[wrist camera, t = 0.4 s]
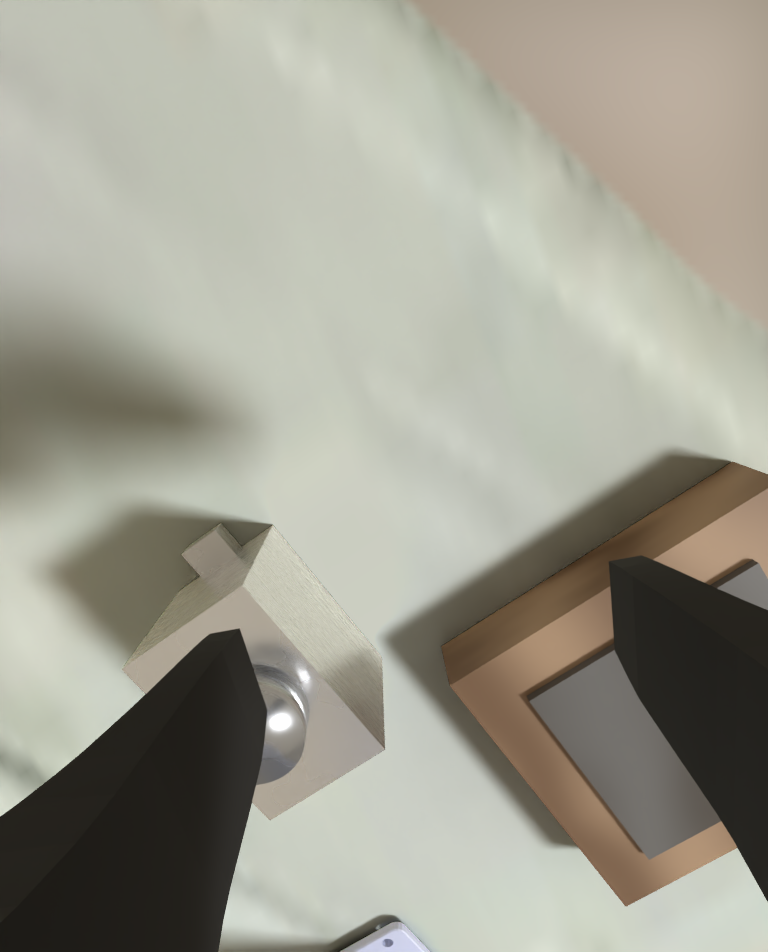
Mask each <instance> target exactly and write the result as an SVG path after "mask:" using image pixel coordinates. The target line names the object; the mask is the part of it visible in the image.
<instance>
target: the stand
mask: <svg viewBox="0 0 768 952" xmlns="http://www.w3.org/2000/svg"><path fill="white" fill-rule="evenodd" d="M640 555H642V556H644V557H647V558H650V559H652V560H655V561H657V562H659V563H662V564H664V565H666V566H669V567H671V568H673V569H675V570H677V571H680V572H682V573H684V574H686V575H688V576H691V577H693V578H695V579H697V580H699V581H702V582H704V583H706V584H708V585H711V586H713V587H715V588H717V589H719V590H722V591H724V592H726V593H729V594H731V595H733V596H735V597H738V598H740V599H742V600H745V601H747V602H749V603H752V604H754V605H757V606H759V607H761V608H764V609H766V610H768V474H765V473H762V472H760V471H757V470H754V469H751V468H749V467H746V466H743V465H740V464H738V463H735V462H731V463H730V464H728V465H726V466H725V467H723V468H722V469H720V470H719V471H717V472H715V473H714V474H712V475H711V476H709V477H708V478H706V479H704V480H703V481H701V482H700V483H698V484H696V485H695V486H693V487H692V488H690V489H689V490H687V491H685V492H684V493H682V494H681V495H679V496H678V497H676V498H674V499H673V500H671V501H670V502H668V503H667V504H665V505H663V506H662V507H660V508H659V509H657V510H655V511H654V512H652V513H651V514H649V515H648V516H646V517H644V518H643V519H641V520H640V521H638V522H637V523H635V524H633V525H632V526H630V527H629V528H627V529H626V530H624V531H622V532H621V533H619V534H618V535H616V536H614V537H613V538H611V539H610V540H608V541H607V542H605V543H603V544H602V545H600V546H599V547H597V548H596V549H594V550H592V551H591V552H589V553H588V554H586V555H585V556H583V557H581V558H580V559H578V560H577V561H575V562H574V563H572V564H570V565H569V566H567V567H566V568H564V569H562V570H561V571H559V572H558V573H556V574H555V575H553V576H551V577H550V578H548V579H547V580H545V581H544V582H542V583H540V584H539V585H537V586H536V587H534V588H533V589H531V590H529V591H528V592H526V593H525V594H523V595H521V596H520V597H518V598H517V599H515V600H514V601H512V602H510V603H509V604H507V605H506V606H504V607H503V608H501V609H499V610H498V611H496V612H495V613H493V614H492V615H490V616H488V617H487V618H485V619H484V620H482V621H480V622H479V623H477V624H476V625H474V626H473V627H471V628H469V629H468V630H466V631H465V632H463V633H462V634H460V635H458V636H457V637H455V638H454V639H452V640H451V641H449V642H447V643H446V644H444V645H443V646H441V648H442V653H443V657H444V662H445V666H446V671H447V676H448V680H449V685H450V687H451V688H452V689H453V691H454V692H455V693H456V694H457V696H458V697H459V698H460V699H461V701H462V702H463V703H464V704H465V706H466V707H467V708H468V709H469V711H470V712H471V713H472V714H473V716H474V717H475V718H476V719H477V721H478V722H479V723H480V724H481V726H482V727H483V728H484V729H485V731H486V732H487V733H488V734H489V736H490V737H491V738H492V739H493V741H494V742H495V743H496V744H497V746H498V747H499V748H500V750H501V751H502V752H503V753H504V755H505V756H506V757H507V758H508V760H509V761H510V762H511V763H512V765H513V766H514V767H515V768H516V770H517V771H518V772H519V773H520V775H521V776H522V777H523V778H524V780H525V781H526V782H527V783H528V785H529V786H530V787H531V788H532V790H533V791H534V792H535V793H536V795H537V796H538V797H539V798H540V800H541V801H542V802H543V803H544V805H545V806H546V807H547V808H548V810H549V811H550V812H551V813H552V815H553V816H554V817H555V818H556V820H557V821H558V822H559V823H560V825H561V826H562V827H563V829H564V830H565V831H566V832H567V834H568V835H569V836H570V837H571V839H572V840H573V841H574V842H575V844H576V845H577V846H578V847H579V849H580V850H581V851H582V852H583V854H584V855H585V856H586V857H587V859H588V860H589V861H590V862H591V864H592V865H593V866H594V867H595V869H596V870H597V871H598V872H599V874H600V875H601V876H602V877H603V879H604V880H605V881H606V882H607V884H608V885H609V886H610V887H611V889H612V890H613V891H614V892H615V894H616V895H617V896H618V897H619V899H620V900H621V901H622V902H623V904H624V905H625V906H628V905H630V904H632V903H634V902H635V901H637V900H639V899H641V898H643V897H645V896H647V895H649V894H651V893H652V892H654V891H656V890H658V889H660V888H662V887H664V886H666V885H668V884H670V883H671V882H673V881H675V880H677V879H679V878H681V877H683V876H685V875H687V874H688V873H690V872H692V871H694V870H696V869H698V868H700V867H702V866H704V865H706V864H707V863H709V862H711V861H713V860H715V859H717V858H719V857H721V856H723V855H725V854H726V853H728V852H730V851H732V850H734V849H736V848H737V846H736V844H735V842H734V840H733V839H732V837H731V836H730V834H729V832H728V831H727V829H726V828H725V826H724V825H723V823H722V821H721V820H720V818H719V817H718V815H717V813H716V812H715V810H714V809H713V807H712V806H711V804H710V803H709V801H708V800H707V799H706V797H705V796H704V794H703V793H702V791H701V790H700V788H699V787H698V785H697V784H696V782H695V781H694V779H693V778H692V776H691V775H690V774H689V772H688V771H687V769H686V768H685V766H684V765H683V763H682V762H681V760H680V759H679V757H678V756H677V754H676V753H675V751H674V750H673V749H672V747H671V746H670V744H669V743H668V741H667V740H666V738H665V737H664V735H663V734H662V732H661V731H660V729H659V728H658V726H657V725H656V723H655V722H654V720H653V719H652V717H651V716H650V714H649V713H648V711H647V710H646V708H645V707H644V705H643V704H642V702H641V701H640V699H639V698H638V696H637V694H636V692H635V690H634V688H633V686H632V684H631V682H630V680H629V678H628V677H627V675H626V673H625V670H624V668H623V666H622V664H621V662H620V660H619V658H618V656H617V654H616V652H615V649H614V634H613V619H612V604H611V589H610V574H609V561H613V560H618V559H624V558H629V557H635V556H640Z"/></svg>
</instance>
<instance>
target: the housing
mask: <svg viewBox="0 0 768 952" xmlns="http://www.w3.org/2000/svg"><path fill="white" fill-rule="evenodd" d="M181 555H182V556H183V557H184V558H185V560H186V561H187V562H188V563H189V564H190V565H191V566H192V567H193V569H194V570H195V571H196V572H197V573H198V574H199V575H200V577H198V578H197V579H195V580H194V581H193V582H191V583H190V584H188V585H187V586H186V587H184V588H183V589H181V590H180V591H179V592H178V593H177V595H176V596H175V597H174V599H173V600H172V601H171V603H170V604H169V605H168V607H167V608H166V609H165V611H164V612H163V614H162V615H161V616H160V618H159V619H158V620H157V622H156V623H155V624H154V626H153V627H152V628H151V630H150V631H149V633H148V634H147V635H146V637H145V638H144V639H143V641H142V642H141V643H140V645H139V646H138V647H137V649H136V650H135V652H134V653H133V654H132V656H131V657H130V658H129V660H128V661H127V662H126V664H125V665H124V666H123V668H122V670H123V671H124V672H125V673H126V674H127V675H128V676H129V677H130V678H131V679H132V680H133V681H134V682H135V683H136V684H137V685H138V686H139V687H140V688H141V689H142V690H143V691H144V693H145V694H146V693H148V692H149V691H150V690H151V689H152V688H153V687H154V686H155V685H156V684H157V683H158V682H159V681H160V680H161V679H162V678H163V677H164V676H165V675H166V674H167V673H168V672H169V671H170V670H171V669H172V668H173V667H174V666H175V665H176V664H177V663H178V662H179V661H180V660H181V659H182V658H183V657H184V656H186V655H187V654H188V653H189V652H190V651H191V650H192V649H193V648H194V647H195V646H196V645H197V644H198V643H199V642H200V641H202V640H203V639H204V638H205V637H206V636H208V635H209V634H211V633H216V632H222V631H227V630H233V629H238V628H240V631H241V634H242V636H243V639H244V642H245V645H246V648H247V651H248V654H249V657H250V660H251V663H252V666H253V669H254V672H255V675H256V678H257V681H258V684H259V687H260V690H261V693H262V696H263V699H264V702H265V705H266V707H267V710H268V711H267V721H266V731H265V740H264V747H263V755H262V762H261V766H260V771H259V775H258V779H257V783H256V787H255V791H254V795H253V800H252V803H253V804H254V805H255V806H256V807H257V808H258V809H259V810H260V811H261V812H262V813H263V814H264V815H265V816H266V817H267V818H268V819H269V820H271V819H273V818H275V817H276V816H278V815H280V814H281V813H283V812H284V811H286V810H288V809H289V808H291V807H293V806H294V805H296V804H297V803H299V802H301V801H302V800H304V799H306V798H307V797H309V796H310V795H312V794H314V793H315V792H317V791H319V790H320V789H322V788H323V787H325V786H327V785H328V784H330V783H332V782H333V781H335V780H336V779H338V778H340V777H341V776H343V775H345V774H346V773H348V772H350V771H351V770H353V769H354V768H356V767H358V766H359V765H361V764H363V763H364V762H366V761H367V760H369V759H371V758H372V757H374V756H376V755H377V754H379V753H380V752H382V751H384V750H385V735H384V704H383V672H382V657H381V655H380V654H379V653H378V652H377V651H376V649H375V648H374V647H373V646H372V644H371V643H370V642H369V641H368V640H367V638H366V637H365V636H364V635H363V634H362V632H361V631H360V630H359V629H358V627H357V626H356V625H355V624H354V623H353V621H352V620H351V619H350V618H349V617H348V615H347V614H346V613H345V612H344V610H343V609H342V608H341V607H340V606H339V604H338V603H337V602H336V601H335V600H334V598H333V597H332V596H331V595H330V593H329V592H328V591H327V590H326V589H325V587H324V586H323V585H322V584H321V583H320V581H319V580H318V579H317V578H316V576H315V575H314V574H313V573H312V572H311V570H310V569H309V568H308V567H307V566H306V564H305V563H304V562H303V561H302V559H301V558H300V557H299V556H298V555H297V553H296V552H295V551H294V550H293V549H292V547H291V546H290V545H289V544H288V542H287V541H286V540H285V539H284V538H283V536H282V535H281V534H280V533H279V532H278V530H277V529H276V528H275V527H274V525H272V526H270V527H269V528H268V529H266V530H265V531H263V532H262V533H261V534H259V535H258V536H256V537H255V538H253V539H252V540H251V541H249V542H248V543H246V544H245V545H244V546H242V547H241V545H240V544H239V543H238V542H237V541H236V539H235V538H234V537H233V536H232V535H231V534H230V532H229V531H228V530H227V529H226V528H225V527H224V525H223V524H222V523H220V524H218V525H217V526H216V527H214V528H213V529H211V530H210V531H209V532H207V533H206V534H204V535H203V536H202V537H200V538H199V539H198V540H196V541H195V542H193V543H192V544H191V545H189V546H188V547H187V548H186V549H185V551H184V552H183V553H182V554H181Z"/></svg>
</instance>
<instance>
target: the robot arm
mask: <svg viewBox="0 0 768 952" xmlns="http://www.w3.org/2000/svg"><path fill="white" fill-rule="evenodd" d="M609 574H610V589H611V604H612V619H613V634H614V649H615V652H616V654H617V656H618V658H619V660H620V662H621V664H622V666H623V668H624V670H625V673H626V675H627V677H628V678H629V680H630V682H631V684H632V686H633V688H634V690H635V692H636V694H637V696H638V698H639V699H640V701H641V702H642V704H643V705H644V707H645V708H646V710H647V711H648V713H649V714H650V716H651V717H652V719H653V720H654V722H655V723H656V725H657V726H658V728H659V729H660V731H661V732H662V734H663V735H664V737H665V738H666V740H667V741H668V743H669V744H670V746H671V747H672V749H673V750H674V751H675V753H676V754H677V756H678V757H679V759H680V760H681V762H682V763H683V765H684V766H685V768H686V769H687V771H688V772H689V774H690V775H691V776H692V778H693V779H694V781H695V782H696V784H697V785H698V787H699V788H700V790H701V791H702V793H703V794H704V796H705V797H706V799H707V800H708V801H709V803H710V804H711V806H712V807H713V809H714V810H715V812H716V813H717V815H718V817H719V818H720V820H721V821H722V823H723V825H724V826H725V828H726V829H727V831H728V832H729V834H730V836H731V837H732V839H733V840H734V842H735V844H736V846H737V848H738V849H739V851H740V853H741V855H742V857H743V858H744V860H745V862H746V864H747V865H748V867H749V869H750V871H751V873H752V874H753V876H754V878H755V880H756V882H757V883H758V885H759V887H760V889H761V891H762V892H763V894H764V896H765V898H766V900H767V901H768V610H766V609H764V608H761V607H759V606H757V605H754V604H752V603H749V602H747V601H745V600H742V599H740V598H738V597H735V596H733V595H731V594H729V593H726V592H724V591H722V590H719V589H717V588H715V587H713V586H711V585H708V584H706V583H704V582H702V581H699V580H697V579H695V578H693V577H691V576H688V575H686V574H684V573H682V572H680V571H677V570H675V569H673V568H671V567H669V566H666V565H664V564H662V563H659V562H657V561H655V560H652V559H650V558H647V557H644V556H642V555H640V556H635V557H629V558H624V559H618V560H613V561H609ZM267 711H268V710H267V707H266V705H265V702H264V699H263V696H262V693H261V690H260V687H259V684H258V681H257V678H256V675H255V672H254V669H253V666H252V663H251V660H250V657H249V654H248V651H247V648H246V645H245V642H244V639H243V636H242V634H241V631H240V628H238V629H233V630H227V631H222V632H216V633H211V634H209V635H208V636H206V637H205V638H204V639H203V640H202V641H200V642H199V643H198V644H197V645H196V646H195V647H194V648H193V649H192V650H191V651H190V652H189V653H188V654H187V655H186V656H184V657H183V658H182V659H181V660H180V661H179V662H178V663H177V664H176V665H175V666H174V667H173V668H172V669H171V670H170V671H169V672H168V673H167V674H166V675H165V676H164V677H163V678H162V679H161V680H160V681H159V682H158V683H157V684H156V685H155V686H154V687H153V688H152V689H151V690H150V691H149V692H148V693H146V694H145V695H144V696H143V697H142V698H141V699H140V700H139V701H138V702H137V703H136V704H135V705H134V706H133V707H132V708H131V709H130V710H129V711H128V712H126V713H125V714H124V715H123V716H122V717H121V718H120V719H119V720H118V721H117V722H115V723H114V724H113V725H112V726H111V727H110V728H109V729H108V730H107V731H105V732H104V733H103V734H102V735H101V736H100V737H99V738H98V739H97V740H95V741H94V742H93V743H92V744H91V745H90V746H89V747H88V748H87V749H86V750H84V751H83V752H82V753H81V754H80V755H79V756H77V757H76V758H75V759H74V760H73V761H71V762H70V763H69V764H68V765H67V766H65V767H64V768H63V769H62V770H61V771H59V772H58V773H57V774H56V775H54V776H53V777H52V778H51V779H49V780H48V781H47V782H45V783H44V784H43V785H42V786H40V787H39V788H38V789H37V790H35V791H34V792H33V793H31V794H30V795H29V796H28V797H26V798H25V799H24V800H22V801H21V802H20V803H18V804H17V805H16V806H14V807H13V808H12V809H10V810H9V811H8V812H6V813H5V814H3V815H2V816H1V817H0V952H218V949H219V943H220V937H221V931H222V924H223V919H224V914H225V909H226V905H227V900H228V895H229V891H230V886H231V883H232V879H233V875H234V871H235V867H236V863H237V859H238V855H239V851H240V847H241V843H242V839H243V835H244V831H245V827H246V823H247V819H248V816H249V812H250V808H251V804H252V800H253V795H254V791H255V787H256V783H257V779H258V775H259V771H260V766H261V762H262V755H263V747H264V740H265V731H266V721H267ZM340 952H430V951H429V950H428V949H427V948H426V946H425V945H424V944H423V943H422V942H421V941H420V940H419V939H418V938H417V937H416V936H415V935H414V934H413V933H412V932H411V931H410V930H409V929H408V928H407V927H406V926H405V925H404V924H403V923H401V922H392V923H390V924H388V925H386V926H384V927H383V928H381V929H379V930H377V931H376V932H374V933H372V934H370V935H368V936H367V937H365V938H363V939H361V940H359V941H358V942H356V943H354V944H352V945H351V946H349V947H347V948H345V949H343V950H342V951H340Z"/></svg>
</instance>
